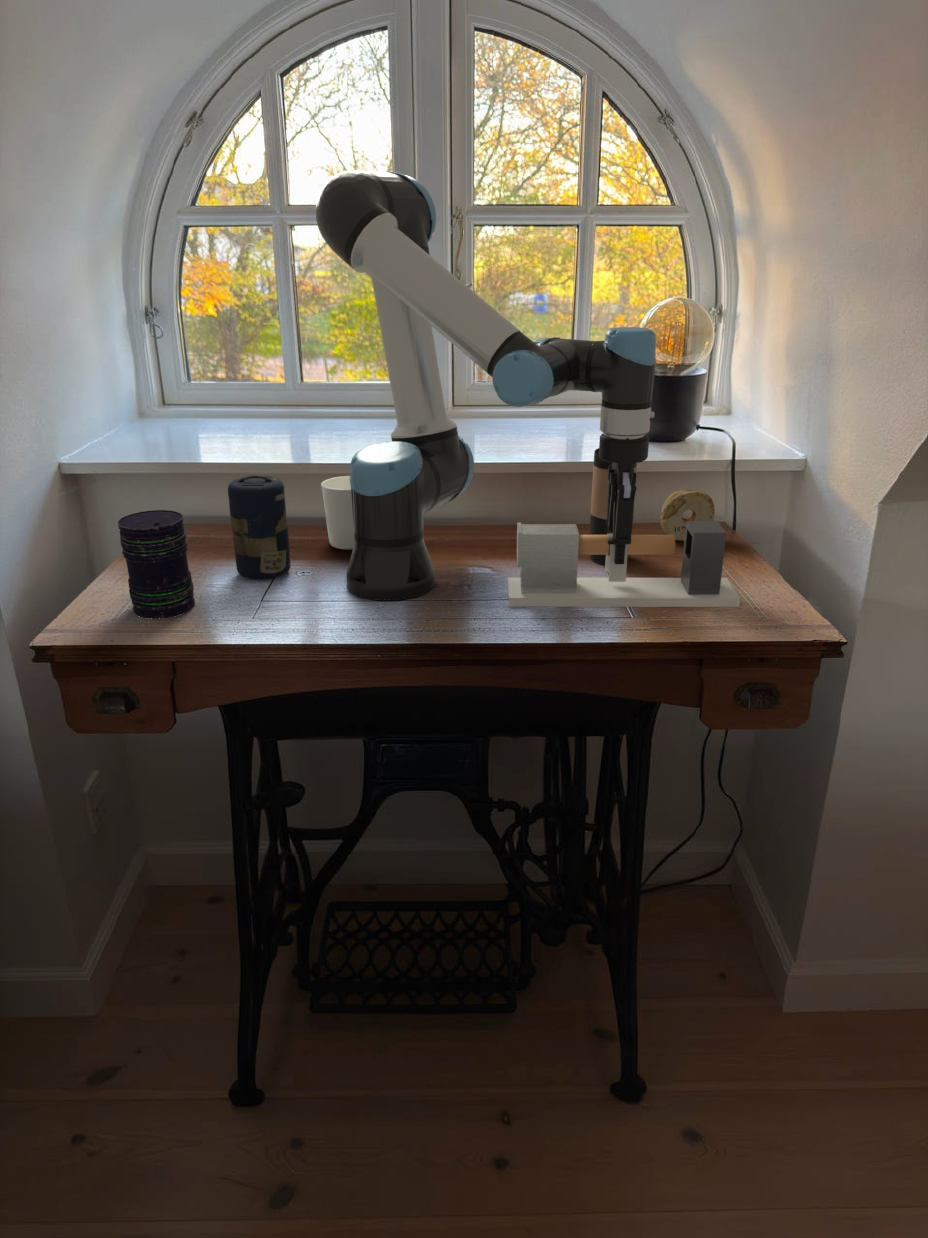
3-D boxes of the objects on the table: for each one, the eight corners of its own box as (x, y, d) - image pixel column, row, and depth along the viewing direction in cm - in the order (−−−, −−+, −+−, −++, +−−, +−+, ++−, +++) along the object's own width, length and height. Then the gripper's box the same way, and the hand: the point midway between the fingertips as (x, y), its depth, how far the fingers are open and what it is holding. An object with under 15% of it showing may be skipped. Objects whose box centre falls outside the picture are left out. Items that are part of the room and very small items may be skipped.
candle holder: (378, 549, 170) (375, 488, 165) (326, 552, 168) (321, 490, 163) (374, 533, 178) (371, 474, 174) (325, 536, 177) (320, 477, 172)
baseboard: (508, 606, 144) (508, 597, 143) (507, 585, 152) (507, 577, 151) (739, 606, 143) (740, 598, 142) (725, 585, 151) (726, 577, 150)
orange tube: (537, 558, 143) (537, 537, 142) (535, 551, 146) (536, 530, 145) (674, 558, 143) (676, 537, 141) (670, 551, 146) (671, 530, 144)
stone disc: (706, 535, 176) (711, 485, 172) (713, 541, 172) (719, 491, 168) (655, 537, 175) (659, 487, 171) (661, 543, 171) (665, 493, 167)
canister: (251, 563, 163) (240, 466, 156) (300, 566, 161) (291, 469, 154) (228, 582, 155) (215, 480, 147) (279, 585, 153) (269, 483, 146)
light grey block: (517, 593, 145) (518, 532, 141) (516, 581, 150) (517, 522, 145) (576, 593, 145) (579, 532, 140) (573, 581, 149) (576, 522, 145)
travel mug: (628, 552, 167) (636, 446, 159) (631, 566, 160) (639, 456, 152) (587, 551, 168) (593, 445, 160) (588, 565, 161) (594, 455, 153)
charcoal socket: (688, 594, 144) (694, 532, 140) (680, 580, 149) (686, 521, 145) (719, 594, 144) (726, 532, 139) (710, 581, 149) (717, 521, 145)
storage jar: (124, 604, 146) (108, 517, 140) (183, 591, 151) (170, 506, 145) (144, 624, 138) (128, 533, 132) (205, 609, 144) (192, 520, 138)
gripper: (658, 446, 129) (646, 595, 138) (640, 422, 144) (630, 558, 154) (606, 446, 129) (597, 595, 139) (594, 422, 144) (587, 558, 154)
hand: (615, 575), depth 146 cm, fingers closed on orange tube, 4 cm apart
